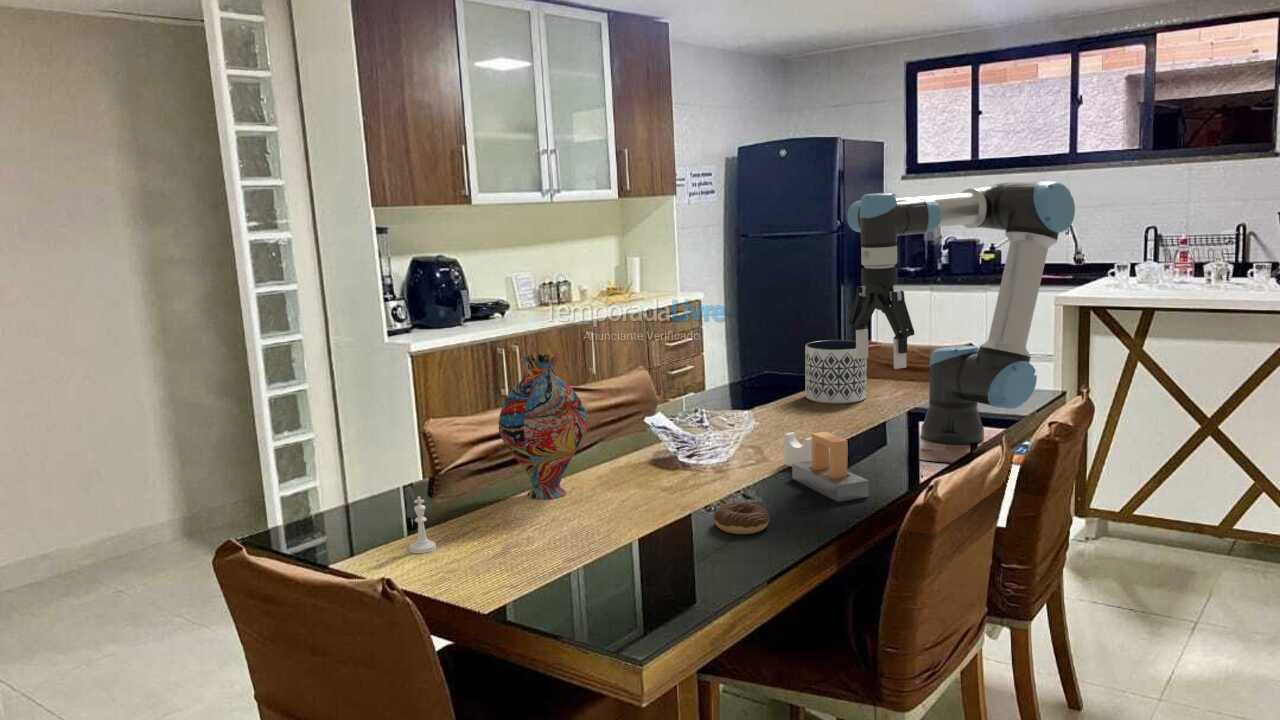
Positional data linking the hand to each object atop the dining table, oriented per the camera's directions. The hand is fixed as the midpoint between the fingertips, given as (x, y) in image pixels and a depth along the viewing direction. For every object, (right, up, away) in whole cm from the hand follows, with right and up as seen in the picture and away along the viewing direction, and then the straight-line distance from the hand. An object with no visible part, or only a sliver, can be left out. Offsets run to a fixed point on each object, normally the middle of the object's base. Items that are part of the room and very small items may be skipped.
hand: (880, 363), depth 209 cm
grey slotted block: (-12, -27, -4) cm, 30 cm away
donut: (-33, -32, -26) cm, 53 cm away
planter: (+7, -11, +82) cm, 83 cm away
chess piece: (-93, -35, -32) cm, 104 cm away
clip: (-12, -26, -4) cm, 29 cm away
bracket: (-12, -24, +15) cm, 31 cm away
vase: (-73, -29, -2) cm, 78 cm away
